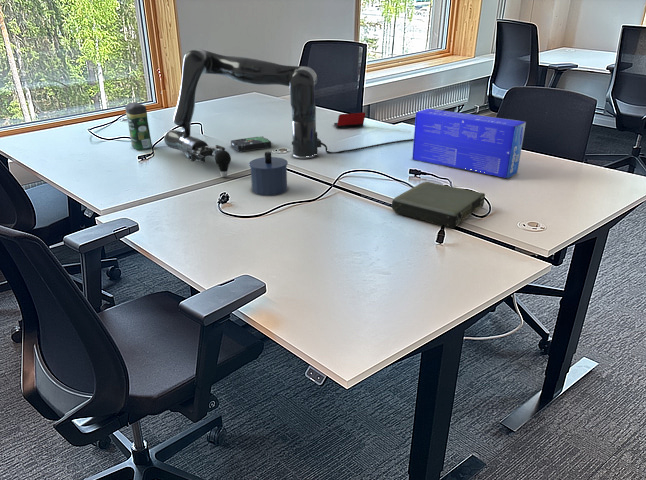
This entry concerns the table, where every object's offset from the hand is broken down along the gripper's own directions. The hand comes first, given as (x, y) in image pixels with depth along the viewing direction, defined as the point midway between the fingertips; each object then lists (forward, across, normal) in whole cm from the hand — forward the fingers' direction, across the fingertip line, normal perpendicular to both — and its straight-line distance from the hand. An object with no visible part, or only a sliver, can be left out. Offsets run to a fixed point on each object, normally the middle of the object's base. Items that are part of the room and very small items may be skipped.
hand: (214, 157), depth 215 cm
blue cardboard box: (+52, +76, +6) cm, 92 cm away
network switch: (+77, +36, +6) cm, 85 cm away
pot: (+28, +6, +6) cm, 29 cm away
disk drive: (-22, +28, +6) cm, 36 cm away
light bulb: (+6, 0, +6) cm, 9 cm away
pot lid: (+28, +6, -3) cm, 29 cm away
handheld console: (-21, +81, +6) cm, 84 cm away
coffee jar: (-52, -9, +6) cm, 53 cm away
